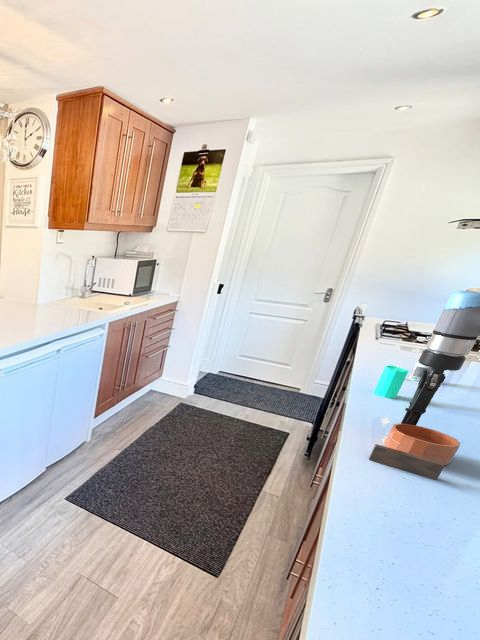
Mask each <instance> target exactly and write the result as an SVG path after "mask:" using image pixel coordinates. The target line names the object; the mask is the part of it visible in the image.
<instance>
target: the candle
mask: <svg viewBox="0 0 480 640" xmlns="http://www.w3.org/2000/svg"><path fill="white" fill-rule="evenodd" d="M399 366H400V364H398V365H397V366H395V365H391V364H390V365H385V366H384V368H383V370H382V373H381V375H380V377H379V379H378V382H377V384H376V386H375V387H374V390H373V395H376V396H379V397H381V398H387V399H396V398H397V396H398V394H399V392H400V390H401V388H402V386H403V384H404V382H405V380H406V377H407V375H408V373H409V369H405V368H402V367H399Z"/></svg>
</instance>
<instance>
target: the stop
mask: <svg viewBox="0 0 480 640" xmlns="http://www.w3.org/2000/svg"><path fill="white" fill-rule="evenodd" d="M368 460H369V461H372V462H375V463H379V464H382V465H385V466H389V467H391V468H395V469H398V470H402V471H404V472H407V473H412V474H415V475H417V476H421V477H424V478H428V479H431V480H434V481H437V480H438V479H439V477H440V475H441V473H442V472H443V470H444V468H445V465H444V463H441V462H438V461H434V460H431V459H427V458H424V457H420V456H417V455H413V454H410V453H406V452H403V451H399V450H395V449H392V448H388V447H386V445H381V444H378V443H375V444H374V445H373V448H372V450H371V452H370V454H369V456H368Z"/></svg>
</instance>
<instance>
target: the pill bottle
mask: <svg viewBox="0 0 480 640" xmlns="http://www.w3.org/2000/svg"><path fill="white" fill-rule="evenodd" d="M428 368H429V366H424V365H422V364H420V363H419V362H418V361H417V363H415V364H414V366H413V368H412V370H411V372H410V374H409V376H408V378H409V379H410V380H412V381H416V382H419V381H420V379H421V377H422V376H421V374H422V372H423V370H425V371H427V370H428Z"/></svg>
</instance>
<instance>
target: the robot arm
mask: <svg viewBox="0 0 480 640" xmlns="http://www.w3.org/2000/svg"><path fill="white" fill-rule="evenodd" d="M479 335H480V291H474V290H457V291H455V292H453V293H452V294H451V295H450V297H449V299H448V301H447V303H446V304H445V306H444V307H443V309H442V311H441V314H440V316H439V317H438V320H437V322H436V324H435V326H434V328H433V330H432V333H431V335H430V336H428V335H427V336H426V338H425V340H427V343H426V345H425V348H426V349H424V350H423V351H422V353H421V355H420V356H419V359H418V361H417V363H418V362H419V363H420V364H422V365H424V366H429V368H428V370H427V371H425V370H423V372H422V374H421V376H422V377H421V379H420V381H418V382H417V388H416V390H415V391H414V394H413V396H412V398H411V401H409V405H408V407H405V409H404V411H406V412H405V414H404V416H403V418H402V420H401V422H400V424H411V425H416V426H418V425H417V424H418V423H419V421H420V419H421V417H422V415H424V414H425V413H426V412H427V408H428V407H429V405H430V403H431V401H432V399H433V398H434V396H435V394H436V393H437V391H438V390H439V388H440V387H441V386H442V385H441V384H442V383H444V382H445V380H446V374H445V371H450V372H451V371H452V372H453V371H454V372H456V371H459V370H461V368H462V367H463V365H464V363H465V362H466V359H467V357H466V356H468V355H469V354H470V352H471V351H472V349H473V347H474V345H475V344H476V342H477V339H478V337H479Z"/></svg>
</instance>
